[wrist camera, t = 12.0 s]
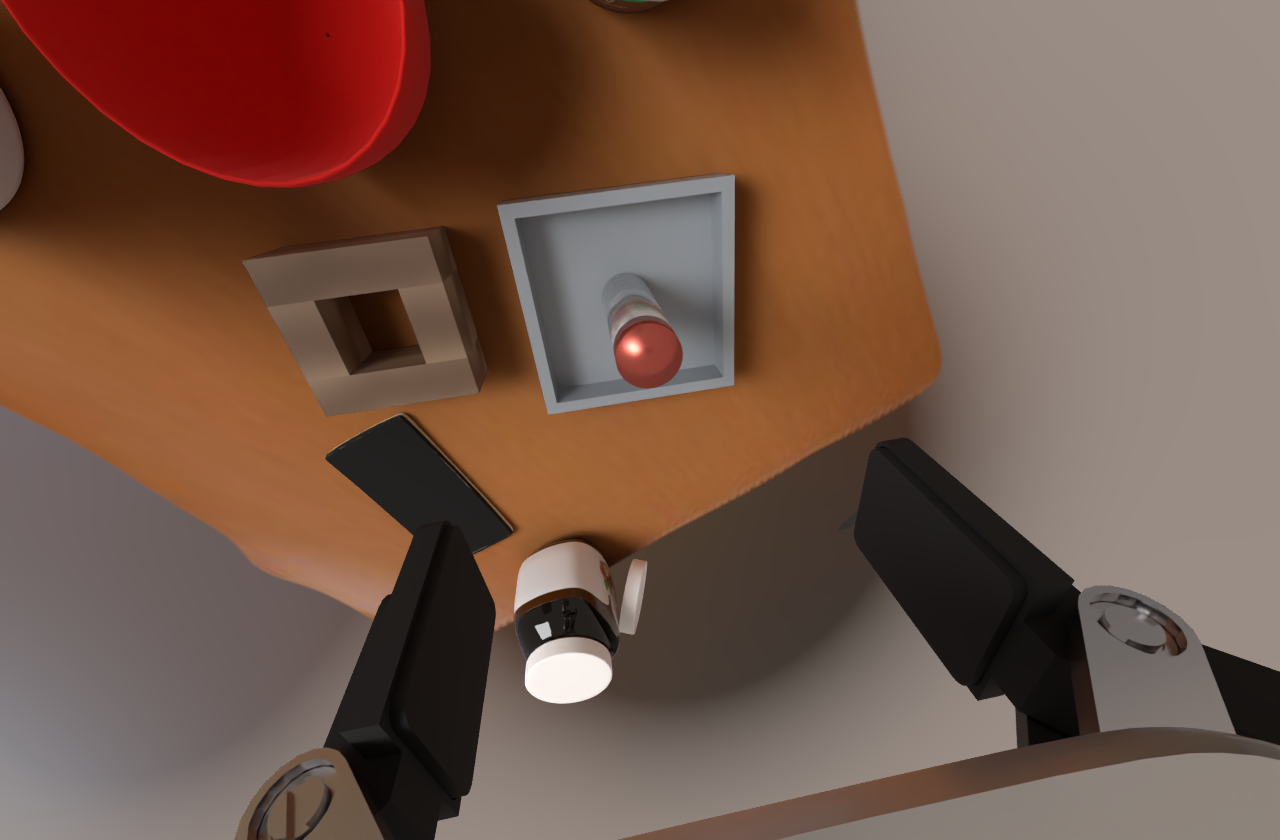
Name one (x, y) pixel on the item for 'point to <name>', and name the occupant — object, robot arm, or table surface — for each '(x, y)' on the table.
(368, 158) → the red bowl
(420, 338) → the walnut socket block
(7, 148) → the cylinder vase
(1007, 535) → the robot arm
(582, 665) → the jar and lid
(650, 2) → the food container
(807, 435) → the table surface
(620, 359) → the steel pin
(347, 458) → the dark small pieces
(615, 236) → the slate tray
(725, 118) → the table surface
